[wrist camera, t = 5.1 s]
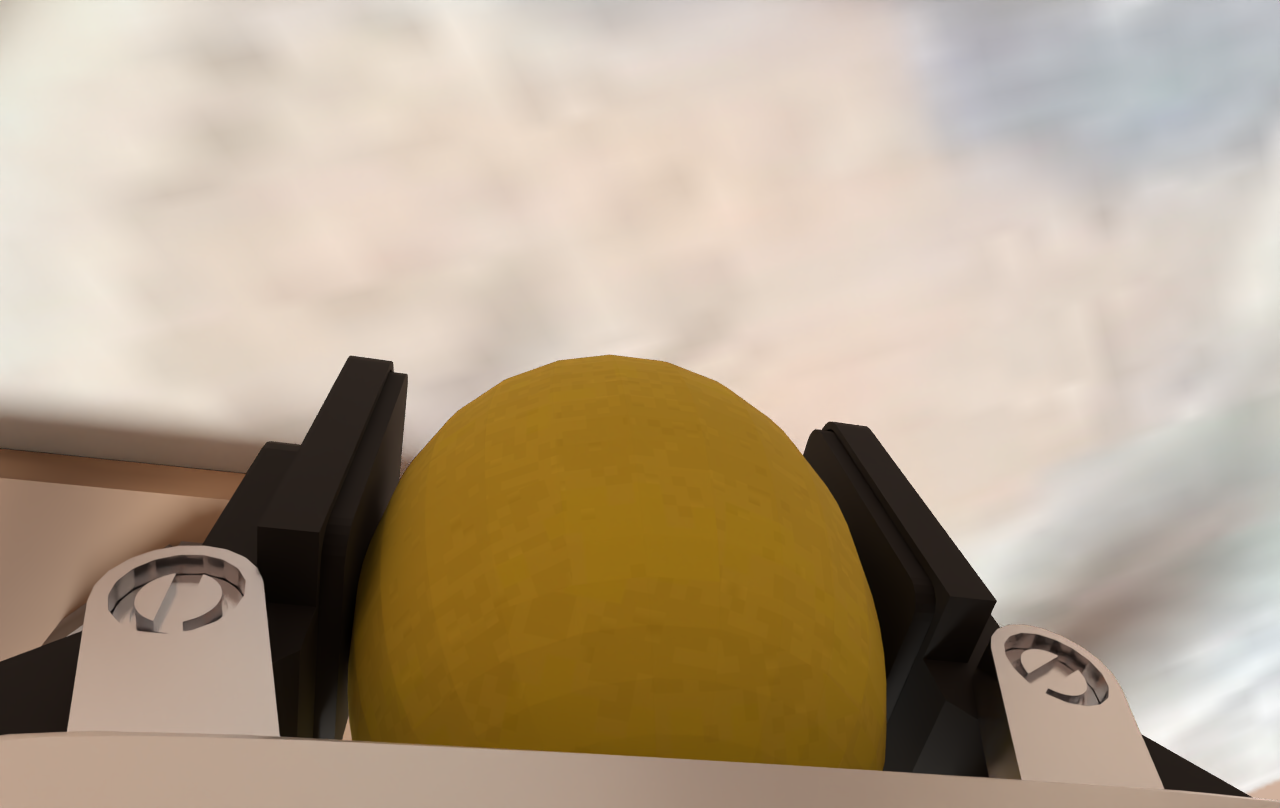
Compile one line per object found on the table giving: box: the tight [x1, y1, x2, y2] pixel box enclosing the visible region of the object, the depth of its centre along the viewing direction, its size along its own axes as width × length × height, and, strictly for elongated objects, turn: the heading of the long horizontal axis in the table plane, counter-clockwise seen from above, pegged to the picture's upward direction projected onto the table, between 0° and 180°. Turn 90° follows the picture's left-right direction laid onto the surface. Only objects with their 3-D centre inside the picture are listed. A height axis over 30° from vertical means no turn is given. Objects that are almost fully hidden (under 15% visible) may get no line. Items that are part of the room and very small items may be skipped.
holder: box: [0, 449, 352, 740], centre depth 26 cm, size 16×14×3 cm
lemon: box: [348, 355, 886, 771], centre depth 9 cm, size 6×6×8 cm
